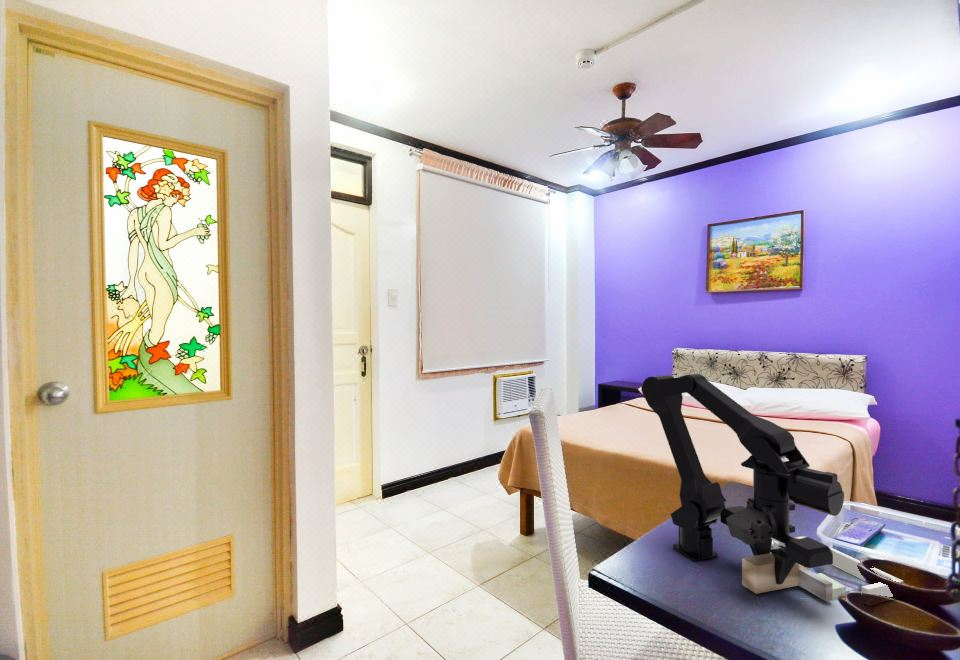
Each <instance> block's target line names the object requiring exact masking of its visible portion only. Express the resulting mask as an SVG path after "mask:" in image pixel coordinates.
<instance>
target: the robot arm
mask: <svg viewBox="0 0 960 660" xmlns="http://www.w3.org/2000/svg"><path fill="white" fill-rule="evenodd" d="M641 393H642V395H643V397H644V399H645V401H646V404H647V405H648V407H649V408H650V409H651V410H652V411H653V412H654V413H655V414H656V415H657V416H658V417H659V420H660V423H661V426H662V429H663V432H664V435H665V438H666V440H667V444H668V446H669V449H670V451H671V455H672V457H673V458H672V459H673V461H674V463H675V467H676V469H677V472H678V474H679V477H680V488H679V500H680V504H681V506H680V507H679V508H677V509H675V510H674V511H672V512H671V513H670V517H671V520H672V524H673V525H675V526H677V527H678V543H674V544H672V548H674V549H675V550H677V551H679V552H680V553H681V554H682V555H684V556H685V557H686V558H689V559H690V560H691V561H693V562H696V561H701V560H707V559H712V558H717V557H718V556H719V555H718V553H717V552H716V551H714V546H713V545H714V541H713V540H714V538H713V534H712V533H713V532H712V531H713V529H712V528H711V527H710V526H711V525H713V524H716V523H717V522H718V519H720V523H722V524H724V525H725V526H727V527H728V530H729V533H730V536H731V537H733V538H736V539H738V540H739V541H741V542H742V543H743V544H746V545H749V548H750V549H751V552H752V556H757V555H763V554H769V553H770V552H771V553H772V555H773V556H774V557H775V579H776V584H778V585H780V584H783V582H784V580H785V579H786V577H787V576H788V574H789V573H790V571H791V569H792V568H793V566H794V565H795V564H796V563H798V564H800V565H802V566H803V567H807V568H809V569H812V568H813V569H814V568H817V567H822V566H826V565H827V566H828V565H831V564H833V553H832V550H831V549H830V548H829V547H830V546H829V547H828V545H827V544H824V543H823V542H820V541H817V540H816V539H813V538H811V537H809V536H807V538H801V539H798V538H796V537H795V536H790V534H792V533H796V526H794V525H792V524H791V523H790V521H791V520H790V518H791V517H790V516H791V515H790V513H791V511H795V510H796V505H797V506H800V507H803V508H808V509H810V510H813V511H817V512H820V513H823V514H827V515H830V516H833V517H837V516H838V515H839V514H840V512H841V511H842V509H843V506H844V502H845V500H844V499H845V492H844V491H843V488H842V484H841V483H840V481H838V474H837V473H835V472H834V473H833V472H830V471H822V470H817V469H813V468H810V463H809V462H808V461H807V460H806V458H805V457H804V456H803V454H802V453H801V451H800V450H799V449H798V447H797V445H796V443H795V437H794V436H793V433H791V432H790V431H788V429H785V428H784V427H781V426H780V425H778V424H776V423H774V422H773V421H770V420H768V419H765V418H762V417H760V416H757V415H755V414H753V413H751V412H750V411H749V410H747V409H746V408H744V407H743V405H741V404H740V403H738V402H737V401H736V400H734V399H733V398H731V397H730V396H729V395H727V394H726V393H724V392H723V391H722V390H721V389H719V388H718V387H716V386H715V385H714V384H713V383H711V382H710V381H709V380H707V377H705V375H702V374H700V373H694V374H693V373H690V374H685V375H683V376H677V377H674V376H672V375H669V374H666V375H655V376H649V377H646V378H645V379H644V381H643V383H642V384H641ZM683 394H688V395H689V396H691V397H692V398H693V399H694V400H696V401H697V402H698V403H699V404H701V405H702V406H703V407H704V408H705V409H707V411H710V413H712V414H713V415H714V416H715V417H717V418H718V419H719V420H721V422H723V423H724V424H725V425H726V426H727V427H729V429H731V430H732V431H733V432H734V433H735V435H736V436H737V438H738V440H739V443H740V444H741V445H742V446H743V447H744V448H745V449H746V450H747V452H748V453H749V454H750V456H749V457H747V459H746V460H744V461H742V462H740V466H741V467H743V468H747V469H751V470H752V471H753V473H752V477H753V478H752V479H753V480H752V481H753V485H752V487H753V490H752V491H753V492H752V496H753V497H748V498H747V500H746V506H743V505H737V506H736V505H735V506H729V507H726V504H725V503H726V502H727V499H726V498H725V496H724V495H723V492H722V489H721V484H720V483H719V482H718V481H715V482H712V481H711V480H710V479H709V478H708V477H707V476H706V475H705V473H704V470H703V467H702V464H701V462H700V458H699V456H698V454H697V451H696V448H695V446H694V443H693V439H692V438H691V434H690V431H689V430H688V426H687V424H686V421H685V418H684V415H683V412H682V405H683V397H684V396H683ZM785 457H786V461H785V462H783V461H782V460H781V459H782V458H785ZM791 501H792V502H793V503H792V502H791ZM772 539H773V540H775V541H777V542H778V543H779V546H778V549H774V548H773V549H771V548H772V546H771V544H772Z"/></svg>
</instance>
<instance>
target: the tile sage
mask: <svg viewBox="0 0 960 660" xmlns="http://www.w3.org/2000/svg"><path fill="white" fill-rule="evenodd" d="M815 574H816V575H818V576H820V577H822V578H824V579H826V580H827V581H829V582H831V583H833V586H832V600H831V601H833V600H837V599H838V598H837V597H838V595H839V594H842V593H845V592H846V593H847V586H845V585H844V584H842V583H841V582H839V581H837V580H835V579H833V578H831V577H829V576H827V575H825V574H824V573H822V572H820V573H815Z"/></svg>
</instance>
